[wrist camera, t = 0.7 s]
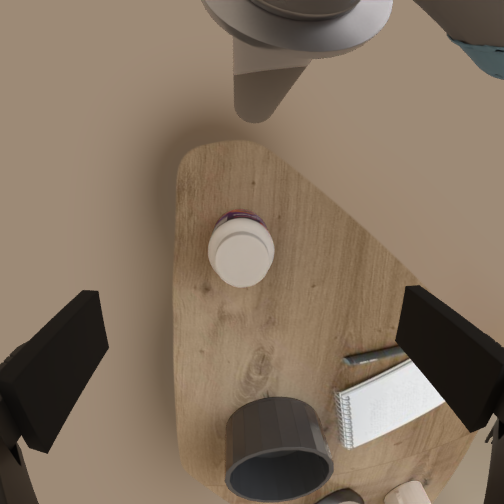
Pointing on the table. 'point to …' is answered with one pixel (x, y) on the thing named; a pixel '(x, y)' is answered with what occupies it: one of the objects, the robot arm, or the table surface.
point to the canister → (276, 451)
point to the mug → (407, 494)
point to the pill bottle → (241, 248)
